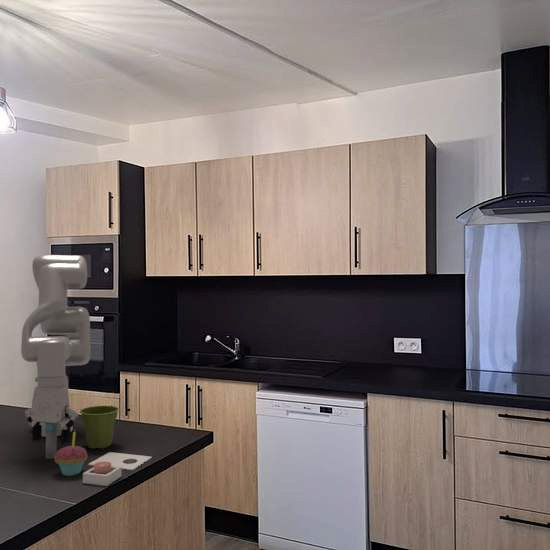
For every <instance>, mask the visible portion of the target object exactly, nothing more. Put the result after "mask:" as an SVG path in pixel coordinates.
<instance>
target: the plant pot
mask: <svg viewBox="0 0 550 550" xmlns="http://www.w3.org/2000/svg"><path fill="white" fill-rule="evenodd" d="M119 411H120V408H119V406H114V405H95V406H88V407H84V408H81V409H80V410H79V413H80V414H81V418H82V419H81V420H82V421H83V425H84V432H85V438H86V445H87V447H88V448H90V449H97V448H98V449H105V448H109V447H110V446H111V445H112V443H113V438H114V432H115V427H116V419H118V418H117V417H118V412H119Z"/></svg>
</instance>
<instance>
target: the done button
mask: <svg viewBox="0 0 550 550" xmlns="http://www.w3.org/2000/svg"><path fill="white" fill-rule="evenodd" d="M93 467H94V473H96V474H104V475H106V474H108V473H109V472H111V463H110V462H98V463H95V464H94V466H93Z"/></svg>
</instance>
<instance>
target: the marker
mask: <svg viewBox="0 0 550 550" xmlns="http://www.w3.org/2000/svg"><path fill="white" fill-rule="evenodd" d="M57 443H58V436H57V423H46V437H45V460H53V459H54V455H55V453H56V452H57V451H58V448H57V447H58V444H57Z"/></svg>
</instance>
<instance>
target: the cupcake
mask: <svg viewBox="0 0 550 550" xmlns="http://www.w3.org/2000/svg"><path fill="white" fill-rule="evenodd" d="M73 430H74V432H73V433H72V442H71V445H65V446H63V447H62V448H59V449H58V450H57V452H56V453H55V455H54V462H55V464H58V465H59V468H60V471H61V475H62V476H67V477H68V476H69V477H70V476H76V475H79V474H80V473H81V472H82V468H83V466H84V463H85V461H86V460H87V459H88V452H87V449H85V447H82V446H80V445H75V443H76V429H73Z"/></svg>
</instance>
